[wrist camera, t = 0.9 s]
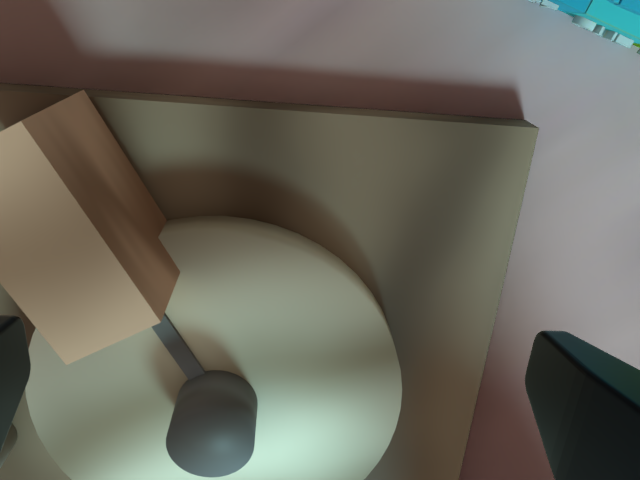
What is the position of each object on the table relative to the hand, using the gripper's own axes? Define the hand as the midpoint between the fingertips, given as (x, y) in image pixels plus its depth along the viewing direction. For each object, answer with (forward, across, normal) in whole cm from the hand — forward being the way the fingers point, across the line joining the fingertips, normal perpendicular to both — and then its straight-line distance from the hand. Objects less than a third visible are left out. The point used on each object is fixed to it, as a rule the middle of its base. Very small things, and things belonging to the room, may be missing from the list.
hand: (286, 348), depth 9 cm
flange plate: (+11, +3, +7) cm, 13 cm away
